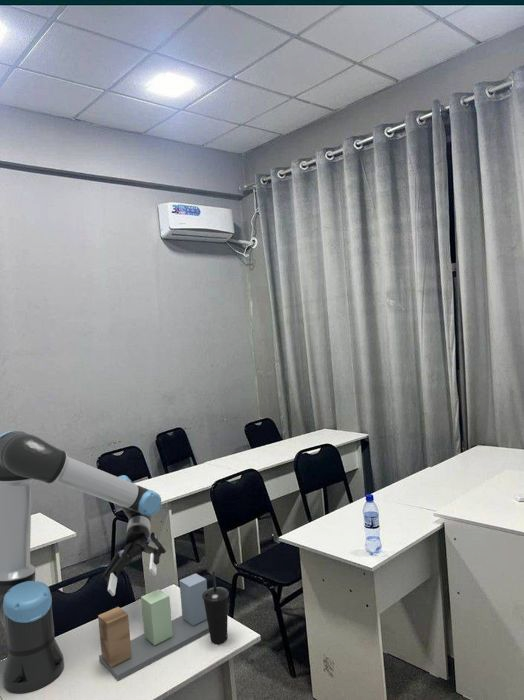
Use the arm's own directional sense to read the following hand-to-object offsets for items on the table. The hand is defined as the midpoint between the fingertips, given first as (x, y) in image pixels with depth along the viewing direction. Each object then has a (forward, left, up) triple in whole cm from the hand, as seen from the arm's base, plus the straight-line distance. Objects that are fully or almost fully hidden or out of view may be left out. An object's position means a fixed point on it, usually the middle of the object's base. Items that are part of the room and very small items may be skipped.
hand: (131, 582), depth 149 cm
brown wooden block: (+3, -8, -17) cm, 19 cm away
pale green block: (+3, +5, -17) cm, 18 cm away
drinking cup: (+15, +18, -19) cm, 31 cm away
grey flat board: (+4, +5, -19) cm, 20 cm away
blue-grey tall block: (+3, +18, -17) cm, 25 cm away
